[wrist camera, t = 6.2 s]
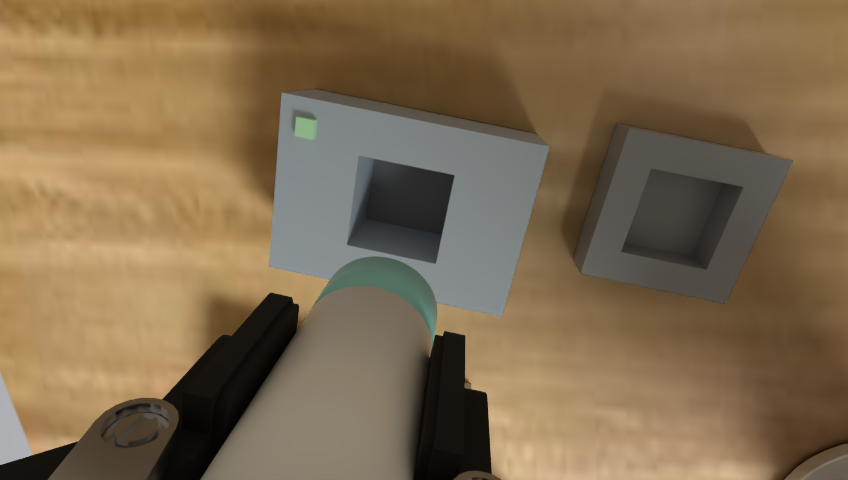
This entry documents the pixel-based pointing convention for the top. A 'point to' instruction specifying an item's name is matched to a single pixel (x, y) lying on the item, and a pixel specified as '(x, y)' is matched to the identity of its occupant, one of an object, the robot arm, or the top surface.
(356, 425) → the plug
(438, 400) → the robot arm
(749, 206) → the grey square socket base
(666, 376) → the top surface
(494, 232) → the port block
